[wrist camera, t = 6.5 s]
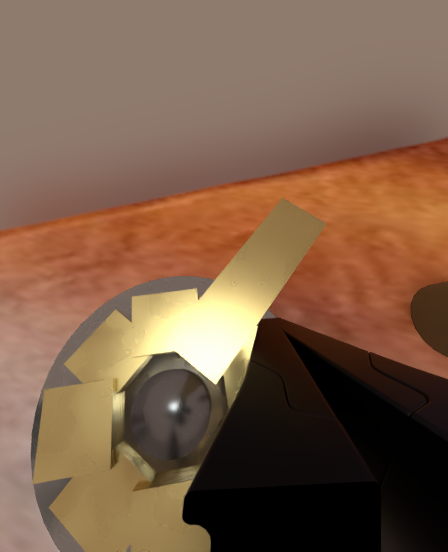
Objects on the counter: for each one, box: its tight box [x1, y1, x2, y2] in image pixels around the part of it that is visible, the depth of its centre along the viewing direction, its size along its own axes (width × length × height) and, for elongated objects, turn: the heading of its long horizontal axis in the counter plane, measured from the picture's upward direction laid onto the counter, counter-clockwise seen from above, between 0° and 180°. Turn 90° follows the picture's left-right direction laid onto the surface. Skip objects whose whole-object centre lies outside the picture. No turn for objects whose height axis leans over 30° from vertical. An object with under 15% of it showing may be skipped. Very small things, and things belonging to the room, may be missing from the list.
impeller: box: [31, 276, 276, 552], centre depth 14 cm, size 18×18×3 cm
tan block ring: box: [33, 198, 326, 552], centre depth 10 cm, size 16×14×10 cm
